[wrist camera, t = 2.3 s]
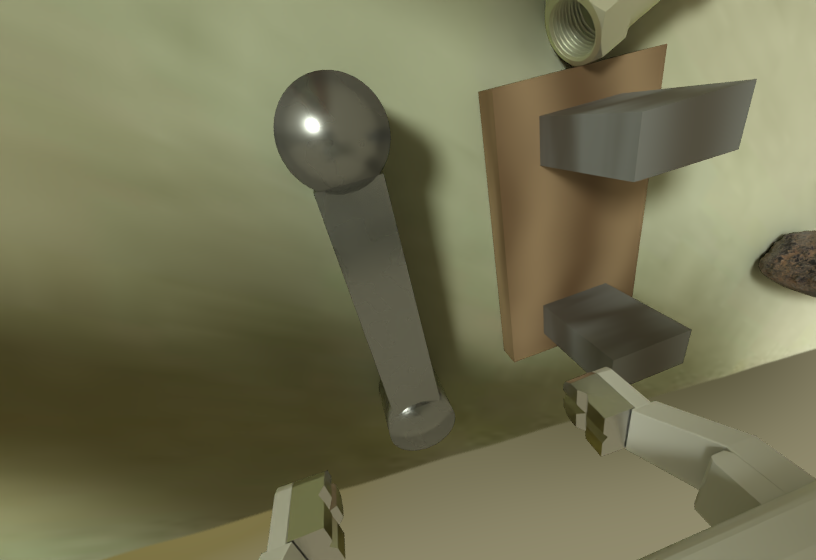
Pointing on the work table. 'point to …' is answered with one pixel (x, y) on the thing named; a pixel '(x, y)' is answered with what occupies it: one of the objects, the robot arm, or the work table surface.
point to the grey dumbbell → (365, 239)
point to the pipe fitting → (590, 26)
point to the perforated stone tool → (793, 262)
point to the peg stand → (592, 202)
